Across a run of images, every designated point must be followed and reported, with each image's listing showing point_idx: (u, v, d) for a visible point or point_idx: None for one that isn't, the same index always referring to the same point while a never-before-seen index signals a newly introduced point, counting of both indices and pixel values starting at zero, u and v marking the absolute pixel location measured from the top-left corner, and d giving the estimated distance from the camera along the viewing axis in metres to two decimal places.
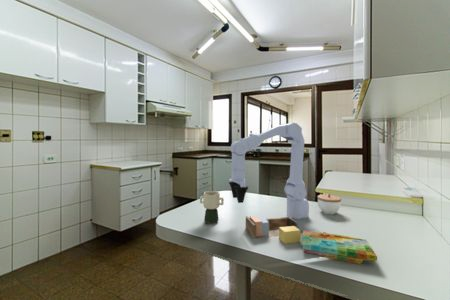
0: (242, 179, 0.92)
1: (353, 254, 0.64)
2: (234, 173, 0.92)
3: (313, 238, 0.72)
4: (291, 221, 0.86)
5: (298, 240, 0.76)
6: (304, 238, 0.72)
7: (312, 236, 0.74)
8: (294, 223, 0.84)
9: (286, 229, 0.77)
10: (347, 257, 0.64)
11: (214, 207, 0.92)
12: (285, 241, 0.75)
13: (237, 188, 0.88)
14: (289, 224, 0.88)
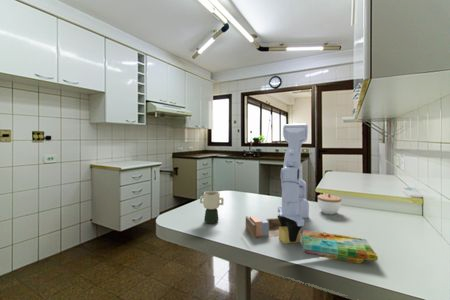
0: (296, 214, 0.75)
1: (353, 254, 0.64)
2: (287, 207, 0.74)
3: (313, 238, 0.72)
4: None
5: (298, 240, 0.76)
6: (304, 238, 0.72)
7: (312, 236, 0.73)
8: None
9: (286, 228, 0.77)
10: (347, 257, 0.65)
11: (214, 207, 0.92)
12: (285, 241, 0.75)
13: (291, 225, 0.72)
14: None
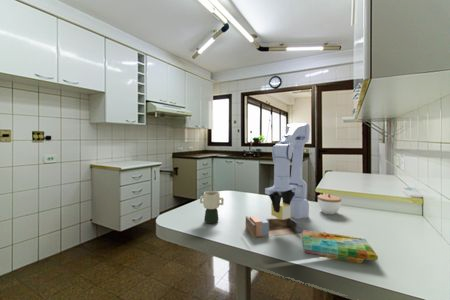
0: (278, 187, 0.80)
1: (353, 254, 0.64)
2: None
3: (313, 238, 0.72)
4: (291, 221, 0.86)
5: (281, 215, 0.80)
6: (304, 238, 0.72)
7: (312, 236, 0.73)
8: (294, 223, 0.84)
9: None
10: (348, 257, 0.65)
11: (214, 207, 0.92)
12: (272, 211, 0.85)
13: None
14: (289, 224, 0.88)
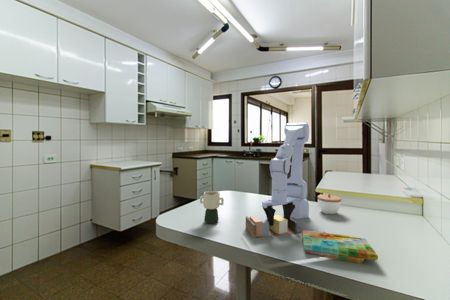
0: (275, 201, 0.82)
1: (354, 253, 0.64)
2: None
3: (313, 238, 0.72)
4: (291, 221, 0.86)
5: (277, 230, 0.82)
6: (305, 238, 0.72)
7: (312, 236, 0.73)
8: (294, 223, 0.84)
9: (275, 216, 0.86)
10: (348, 257, 0.65)
11: (214, 207, 0.92)
12: None
13: (263, 207, 0.84)
14: (289, 224, 0.88)
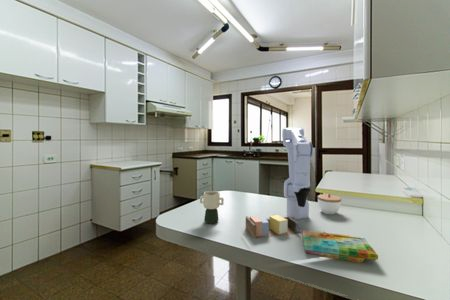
0: (302, 184, 0.84)
1: (354, 253, 0.64)
2: (295, 176, 0.86)
3: (314, 238, 0.72)
4: (291, 221, 0.86)
5: (277, 230, 0.82)
6: (305, 238, 0.72)
7: (312, 236, 0.73)
8: (294, 223, 0.84)
9: (275, 216, 0.86)
10: (348, 256, 0.65)
11: (214, 207, 0.92)
12: (270, 224, 0.87)
13: None
14: (289, 224, 0.88)
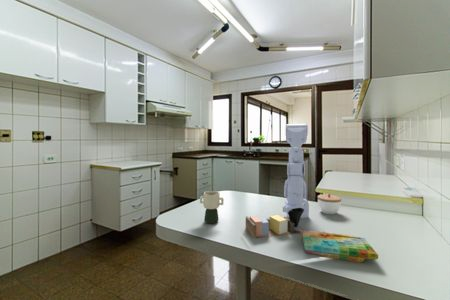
0: (294, 204, 0.83)
1: (354, 253, 0.64)
2: (287, 196, 0.86)
3: (314, 238, 0.72)
4: (288, 221, 0.86)
5: (277, 230, 0.82)
6: (305, 239, 0.72)
7: (312, 236, 0.73)
8: (291, 223, 0.84)
9: (275, 216, 0.86)
10: (349, 256, 0.65)
11: (214, 207, 0.92)
12: (270, 224, 0.87)
13: None
14: None
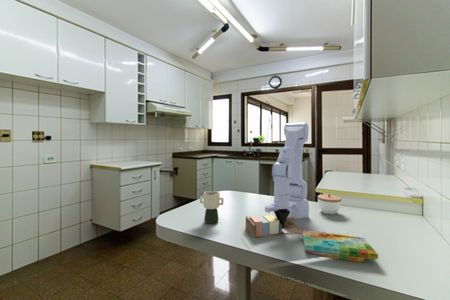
0: (278, 205, 0.82)
1: (355, 253, 0.64)
2: None
3: (314, 238, 0.72)
4: None
5: None
6: (305, 239, 0.72)
7: (312, 236, 0.73)
8: None
9: (269, 217, 0.86)
10: (349, 256, 0.65)
11: (214, 207, 0.92)
12: None
13: (273, 210, 0.86)
14: None
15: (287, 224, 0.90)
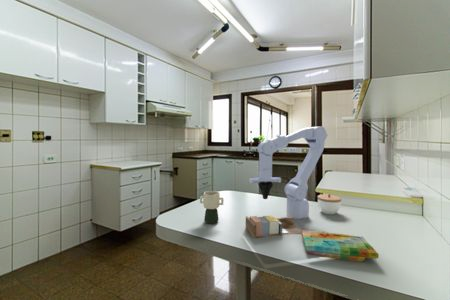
0: (260, 178, 0.96)
1: (355, 252, 0.64)
2: None
3: (314, 238, 0.72)
4: None
5: None
6: (306, 239, 0.72)
7: (313, 236, 0.73)
8: (279, 224, 0.82)
9: (269, 217, 0.86)
10: (350, 256, 0.65)
11: (214, 207, 0.92)
12: None
13: (258, 183, 0.99)
14: None
15: (287, 224, 0.90)
